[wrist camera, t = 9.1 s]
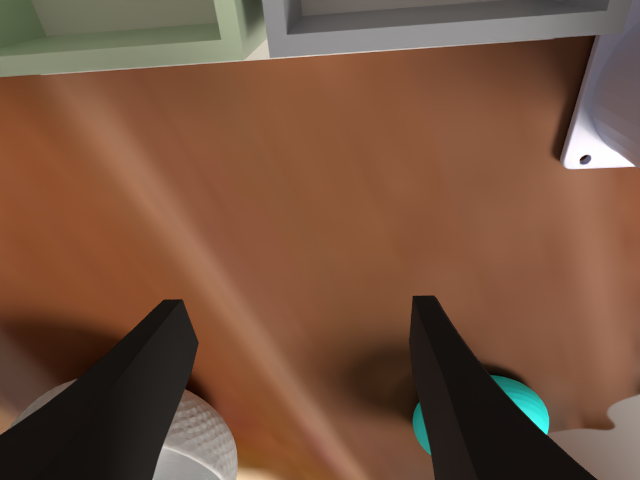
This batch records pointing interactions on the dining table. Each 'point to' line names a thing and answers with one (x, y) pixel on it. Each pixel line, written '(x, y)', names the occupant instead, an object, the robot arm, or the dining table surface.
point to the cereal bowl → (183, 440)
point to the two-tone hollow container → (271, 29)
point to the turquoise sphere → (515, 390)
